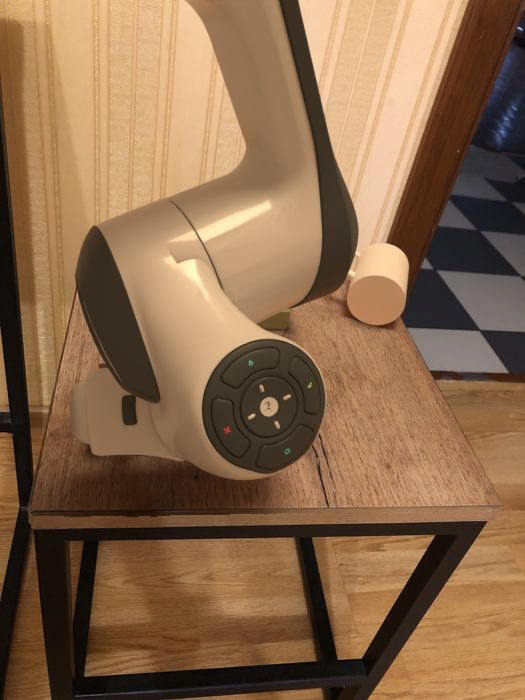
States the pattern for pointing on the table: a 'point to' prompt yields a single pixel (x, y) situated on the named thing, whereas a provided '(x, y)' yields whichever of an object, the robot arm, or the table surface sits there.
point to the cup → (378, 284)
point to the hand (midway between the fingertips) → (176, 403)
